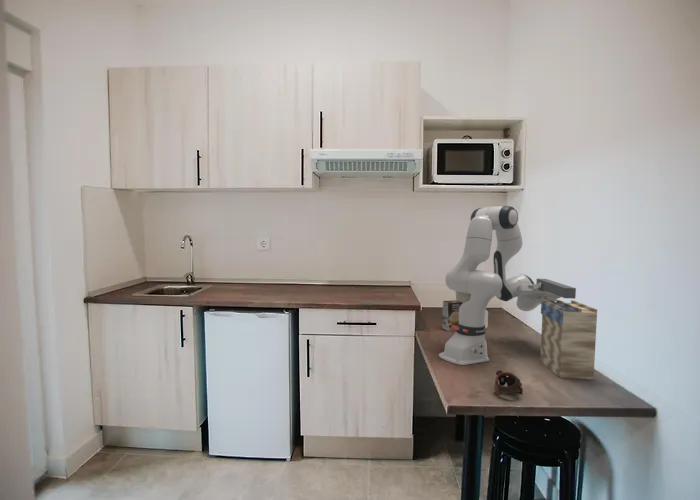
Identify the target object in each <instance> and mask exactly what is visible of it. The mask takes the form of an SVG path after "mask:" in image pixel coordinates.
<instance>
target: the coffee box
mask: <svg viewBox="0 0 700 500" xmlns="http://www.w3.org/2000/svg"><path fill="white" fill-rule="evenodd" d="M462 304H463V302H460V301H457V300H456V299H454V300H443V301H442V320H441V328H442V329H443V330H445V331H447V332H451V331H453V332H454V331H455V332H456V330H453V329H452V326H453V325H455V326H457V325H458V323H459V308H460V306H461V305H462Z"/></svg>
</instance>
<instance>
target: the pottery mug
mask: <svg viewBox="0 0 700 500" xmlns="http://www.w3.org/2000/svg"><path fill="white" fill-rule="evenodd" d="M495 373H496V376H495V378H494V379H495V380H494V381H495V382H494V392H495V391H496V392H497V393H498V394H500V395H501V394H504V395H510V394H513V393H516V392H517V393H521V392H523V393H524V389H523V387H522V386H523V383H522V382H521V379H520V378H519V377H518V376H517V375H515V374H514V373H512V372H510V371H502V370H500V369H499V370H496V372H495ZM505 385H507V386H505ZM519 390H520V391H521V392H520V391H519ZM496 392H495V393H496ZM497 393H496V394H497Z"/></svg>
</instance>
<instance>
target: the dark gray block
mask: <svg viewBox="0 0 700 500" xmlns="http://www.w3.org/2000/svg"><path fill="white" fill-rule="evenodd" d="M535 283H536V284H538V283H543V287H542V288H540V289H542V290H545V291H547V292H550V293H552V294H555V295H557V296H560V297H561V298H563V299H572V300H573V299H576V296H577V294H576V292H577V288H576V287H574V286H571V285H570V286H569V285H567V284H564V283H561V282H558V281H553V280H551V279H548V278H536V282H535Z"/></svg>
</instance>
